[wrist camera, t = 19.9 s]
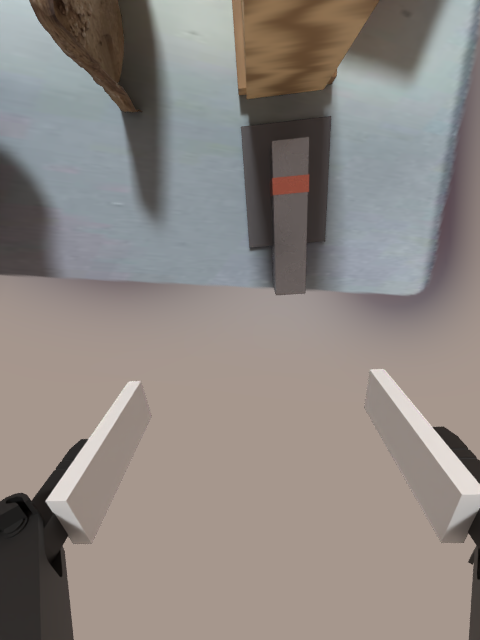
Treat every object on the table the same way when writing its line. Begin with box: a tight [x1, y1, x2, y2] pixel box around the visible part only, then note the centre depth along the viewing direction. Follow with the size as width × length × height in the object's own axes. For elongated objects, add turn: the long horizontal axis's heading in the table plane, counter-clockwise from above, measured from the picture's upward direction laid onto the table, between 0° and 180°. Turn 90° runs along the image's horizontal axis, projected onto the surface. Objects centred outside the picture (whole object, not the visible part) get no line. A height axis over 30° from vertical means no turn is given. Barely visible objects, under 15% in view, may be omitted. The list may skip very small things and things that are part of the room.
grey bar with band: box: [270, 137, 309, 295], centre depth 37 cm, size 20×5×5 cm, turn 5°
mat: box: [241, 116, 331, 248], centre depth 37 cm, size 12×16×1 cm
